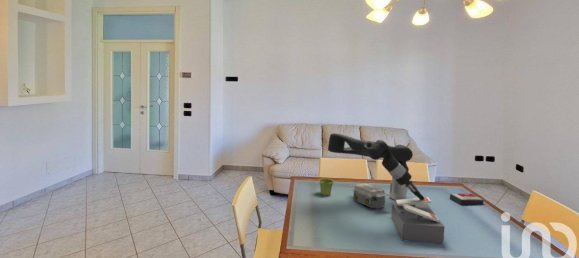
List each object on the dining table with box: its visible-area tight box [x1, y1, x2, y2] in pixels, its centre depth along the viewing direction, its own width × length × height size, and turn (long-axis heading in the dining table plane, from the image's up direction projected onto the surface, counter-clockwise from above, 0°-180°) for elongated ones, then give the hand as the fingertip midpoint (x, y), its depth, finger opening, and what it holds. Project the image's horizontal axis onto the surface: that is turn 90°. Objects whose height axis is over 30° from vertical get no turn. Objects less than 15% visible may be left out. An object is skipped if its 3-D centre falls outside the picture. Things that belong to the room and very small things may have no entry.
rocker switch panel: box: [390, 201, 446, 244], centre depth 167 cm, size 28×18×10 cm, turn 173°
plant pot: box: [318, 178, 334, 196], centre depth 216 cm, size 9×9×9 cm
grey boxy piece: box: [349, 183, 390, 209], centre depth 201 cm, size 12×28×10 cm, turn 23°
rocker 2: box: [403, 203, 441, 222], centre depth 159 cm, size 6×16×1 cm, turn 83°
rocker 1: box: [395, 196, 432, 206], centre depth 174 cm, size 6×16×1 cm, turn 83°
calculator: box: [449, 193, 484, 206], centre depth 209 cm, size 11×4×15 cm
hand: (422, 199), depth 173 cm, fingers closed
